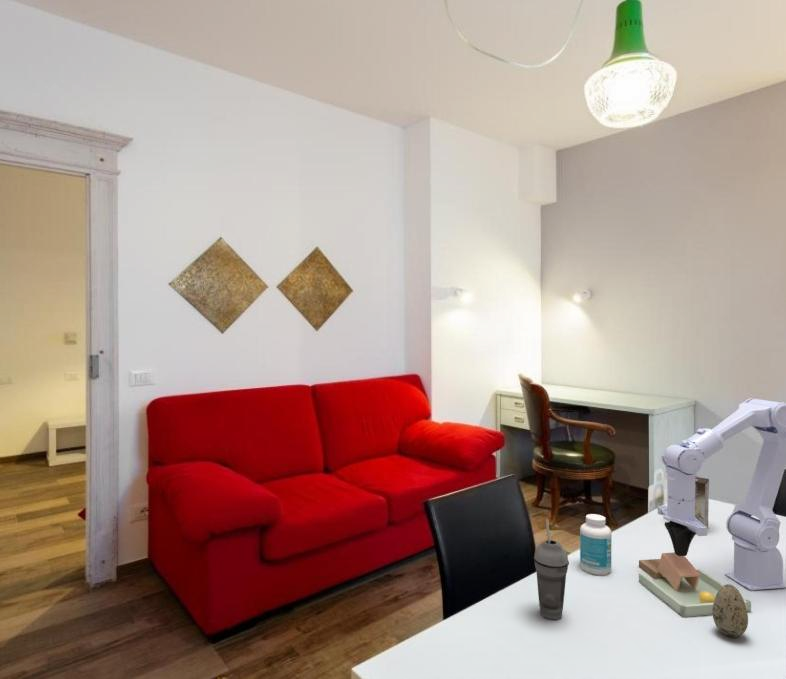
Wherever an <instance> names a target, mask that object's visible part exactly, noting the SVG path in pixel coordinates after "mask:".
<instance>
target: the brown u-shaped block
mask: <svg viewBox="0 0 786 679" xmlns="http://www.w3.org/2000/svg"><path fill="white" fill-rule="evenodd" d="M659 559H660V562H659V566H658V571H659V572H660V573H661V575H662V576H663V577H664V578H665V577H666V579H667V580H668V581H669V583H670V584H671V585H672V587H673V588H674V589H675V590H676V591H678V589H679V585H680V582H681V579H682V577H683V578H685V580H686V581H687V582H688V583H689V584H690V586H691V587H692V588H693V589H694V590H696V587H697V584H698V581H699V578H700V573H699V572H698V571H697V568H696V567H695V566H694V565H693V564H692V563H691V562H690V561H689V559H688V557H686V556H678V555H676V554H675V552H663V553H662V552H661V555H660V558H659Z"/></svg>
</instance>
